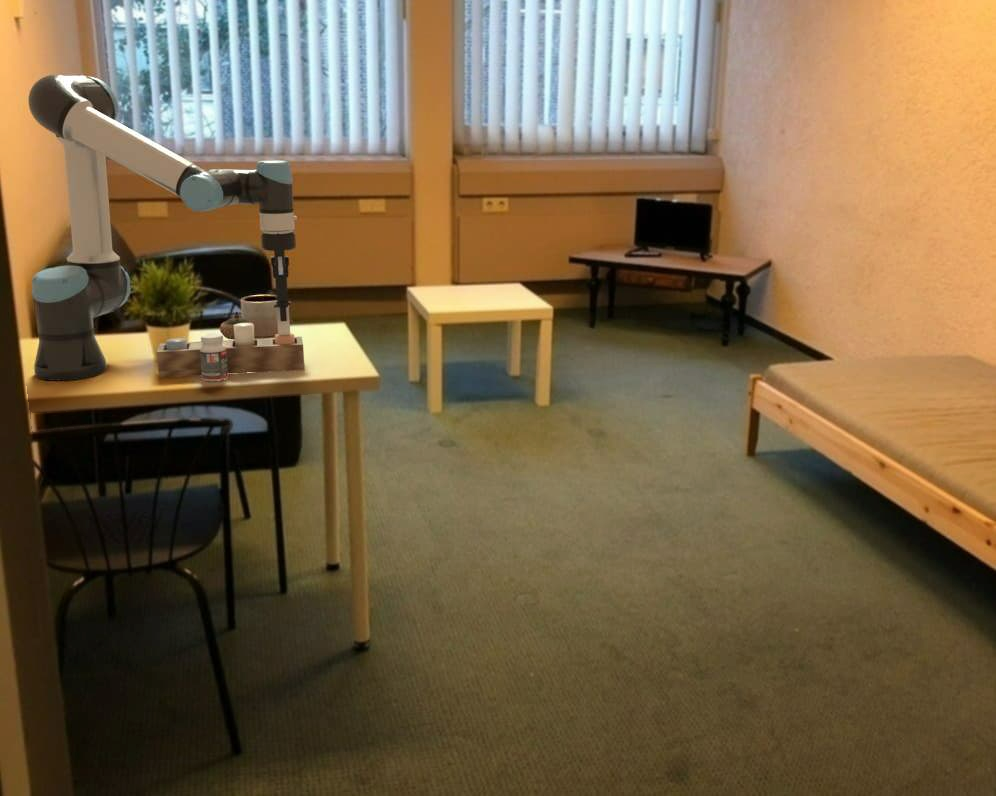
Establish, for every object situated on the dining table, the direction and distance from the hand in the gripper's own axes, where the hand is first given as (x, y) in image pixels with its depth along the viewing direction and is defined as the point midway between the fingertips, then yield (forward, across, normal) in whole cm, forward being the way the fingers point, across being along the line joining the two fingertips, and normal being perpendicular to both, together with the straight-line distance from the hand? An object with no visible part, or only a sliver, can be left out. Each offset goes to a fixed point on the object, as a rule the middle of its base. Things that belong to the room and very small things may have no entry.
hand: (284, 333), depth 233 cm
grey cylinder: (+6, 0, +24) cm, 25 cm away
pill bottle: (+8, -8, +16) cm, 19 cm away
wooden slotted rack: (+8, 0, +12) cm, 14 cm away
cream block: (+3, 0, +9) cm, 9 cm away
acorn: (+8, +18, +11) cm, 22 cm away
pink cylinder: (+6, 0, 0) cm, 6 cm away
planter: (+8, +36, +5) cm, 37 cm away
